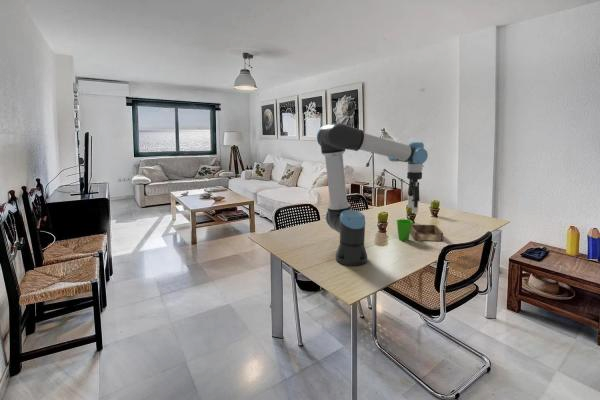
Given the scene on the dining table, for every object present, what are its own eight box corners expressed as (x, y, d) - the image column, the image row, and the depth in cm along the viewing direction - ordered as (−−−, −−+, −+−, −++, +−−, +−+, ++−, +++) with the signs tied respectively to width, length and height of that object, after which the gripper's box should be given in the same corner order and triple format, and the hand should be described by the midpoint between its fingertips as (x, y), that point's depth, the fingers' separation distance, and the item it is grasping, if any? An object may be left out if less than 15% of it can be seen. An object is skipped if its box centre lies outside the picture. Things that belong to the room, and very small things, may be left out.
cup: (413, 238, 187) (414, 220, 185) (409, 243, 180) (410, 224, 177) (397, 236, 192) (398, 218, 189) (393, 240, 184) (394, 221, 182)
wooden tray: (414, 240, 184) (415, 232, 183) (408, 232, 199) (409, 224, 198) (442, 241, 182) (443, 232, 181) (434, 232, 198) (435, 224, 197)
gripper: (427, 174, 161) (424, 216, 166) (417, 168, 186) (415, 205, 190) (411, 174, 163) (409, 215, 167) (403, 168, 187) (401, 204, 191)
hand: (412, 210), depth 178 cm, fingers open, 13 cm apart
